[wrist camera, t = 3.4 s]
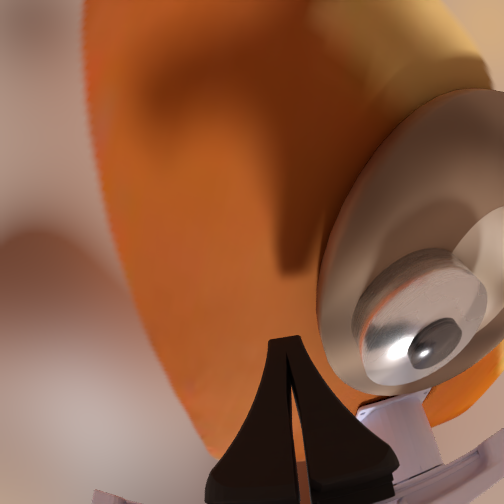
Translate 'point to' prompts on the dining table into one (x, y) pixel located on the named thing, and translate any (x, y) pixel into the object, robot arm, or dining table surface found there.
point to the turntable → (421, 224)
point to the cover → (417, 316)
